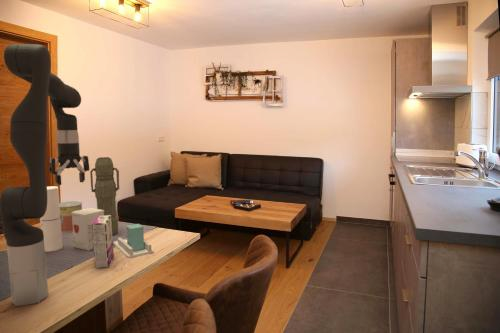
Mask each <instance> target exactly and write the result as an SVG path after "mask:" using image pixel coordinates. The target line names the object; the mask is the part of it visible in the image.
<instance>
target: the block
mask: <svg viewBox="0 0 500 333" xmlns="http://www.w3.org/2000/svg"><path fill="white" fill-rule="evenodd" d="M144 234H145V233H144V226H143V225H141V224H140V223H135V224H130V225H126V239H127V244H128V245H129V246H131V247H132V248H133V251H136V250H140V249H144V240H145V235H144Z"/></svg>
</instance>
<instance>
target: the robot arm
mask: <svg viewBox="0 0 500 333" xmlns="http://www.w3.org/2000/svg"><path fill="white" fill-rule="evenodd" d="M3 51H4V52H3V60H4V64H5V66H6V69H7V70H8V71H9V72H10V73H11V74H12V75H14V76H16V77H18V78H20V79H23V80H24V81H25V82H28V83H29V84H30V87H29V89H28V91H27V93H26V95H25V96H24V97H23V99H22V100H21V101H20V103H19V104H18V105H17V107H16V108H15V109H14V111H13V112H12V115H11V117H10V125H9V126H10V129H9V141H10V144H11V146H12V148H13V150H14V151H15V153H16V154H17V155H18V156H19V158H20V159H21V161H22V162H23V164H24V166H25V167H26V168H25V169H26V170H27V174H28V179H29V182H28V183H29V185H28V186H8V187H6V188H4V189H3V190H2V191H1V194H0V219H1V225H2V231H3V236H4V238H5V243H6V252H7V262H8V263H7V264H8V275H9V284H10V285H9V286H10V294H11V296H10V297H11V303H12V304H14V307H19V306H20V307H21V306H26V305H34V304H38V303H39V304H40V302H41V301H42V300H45V299H46V298H47V297H48V295H49V287H48V286H49V285H48V276H47V275H48V273H47V263H46V261H47V260H46V251H45V247H44V234H43V231H42V229H41V227H40V228H39V227H37V226H34V225H32V224H30V223H28V222H27V221H25V220H35V219H40V218H41V217H43V216H44V214H45V212H46V209H47V187H48V186H47V184H48V183H47V182H48V181H47V168H46V167H47V166H46V164H47V163H46V162H47V158H46V157H47V142H48V141H47V139H48V97H49V102H50V104H51V107H52V109H53V112H54V115H55V119H56V130H57V132H56V142H57V155H58V156H57V158H54V157H50V158H48V160H49V162H48V163H49V164H48V165H49V166H48V169H49V170H48V171H49V172H48V173H49V174H51V175H54V178H55V179H54V180H55V184H57V186H61V185H62V175H61V174H62V173H63V171H65V170H66V169H71V168H72V169H77V170H78V171H79V173H78V174H79V177H78V178H79V182H80V183H84V182H85V180H86V172H88V171H89V172H90V171H91V170H90V163H89V162H90V160H89V156H88V155H82V156H81V155H80V136H79V132H78V118H77V116H76V115H74V114H71V113H68V112H67V113H66V112H65V111H64V109H75V108H78V107H79V106H80V105H81V104H82V96H81V94H80V93H79V91H78V90H77V89H76V88H74V87H73V86H70V85H68V84H67V83H65V82H64V81H63V80H62V79H61V78H60V77H58V76H57V75H56V74H54V73H52V71H51V70H52V69H51V67H52V62H51V54H50V51H49V49H48V47H46V46H45V45H43V44H36V43H35V44H34V43H32V44H31V43H13V44H9V45H7V46H6V47H5V49H4V50H3ZM80 162H82V165H83V166H82V165H81V163H80ZM57 163H59V164H58V166H57V168H56V165H57Z"/></svg>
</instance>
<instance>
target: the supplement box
mask: <svg viewBox="0 0 500 333" xmlns="http://www.w3.org/2000/svg"><path fill="white" fill-rule="evenodd" d="M101 215H102V216H103V215H104V210H100V209H97V208H94V207H86V208H82V210H78V211H74V212H72V225H73V231H72V237H73V248H77V249H80V250H84V251H91V250H94V245H93V232H92V224H93V222H94V221H95V220H96V218H97V217H98V216H101Z"/></svg>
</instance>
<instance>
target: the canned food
mask: <svg viewBox="0 0 500 333" xmlns="http://www.w3.org/2000/svg"><path fill="white" fill-rule="evenodd" d="M82 204H83V203H82V201H74V200H73V201H65V202H64V201H63V202H59V206H60V220H61V233H73V225H72V212H74V211H78V210H82V209H83V206H82Z"/></svg>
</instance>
